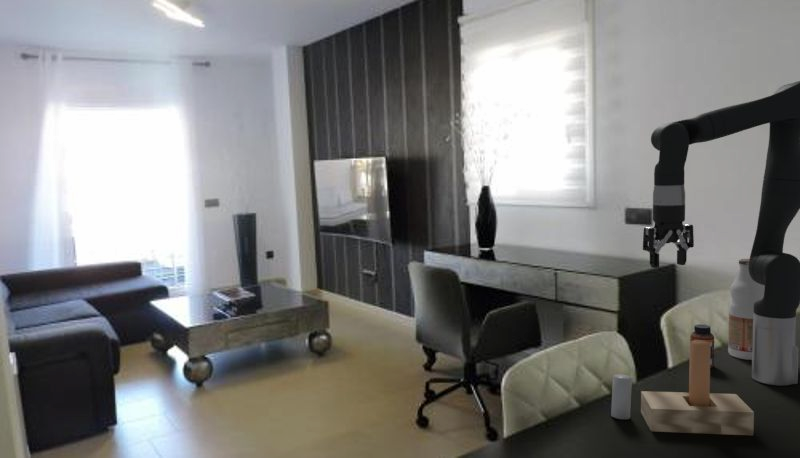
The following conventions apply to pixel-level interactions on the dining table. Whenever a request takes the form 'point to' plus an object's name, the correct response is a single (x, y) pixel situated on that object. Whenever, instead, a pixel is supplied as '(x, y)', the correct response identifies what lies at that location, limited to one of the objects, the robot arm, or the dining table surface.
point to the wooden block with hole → (696, 414)
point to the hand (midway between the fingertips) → (668, 266)
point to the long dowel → (699, 373)
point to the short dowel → (621, 396)
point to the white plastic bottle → (742, 312)
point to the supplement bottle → (704, 338)
